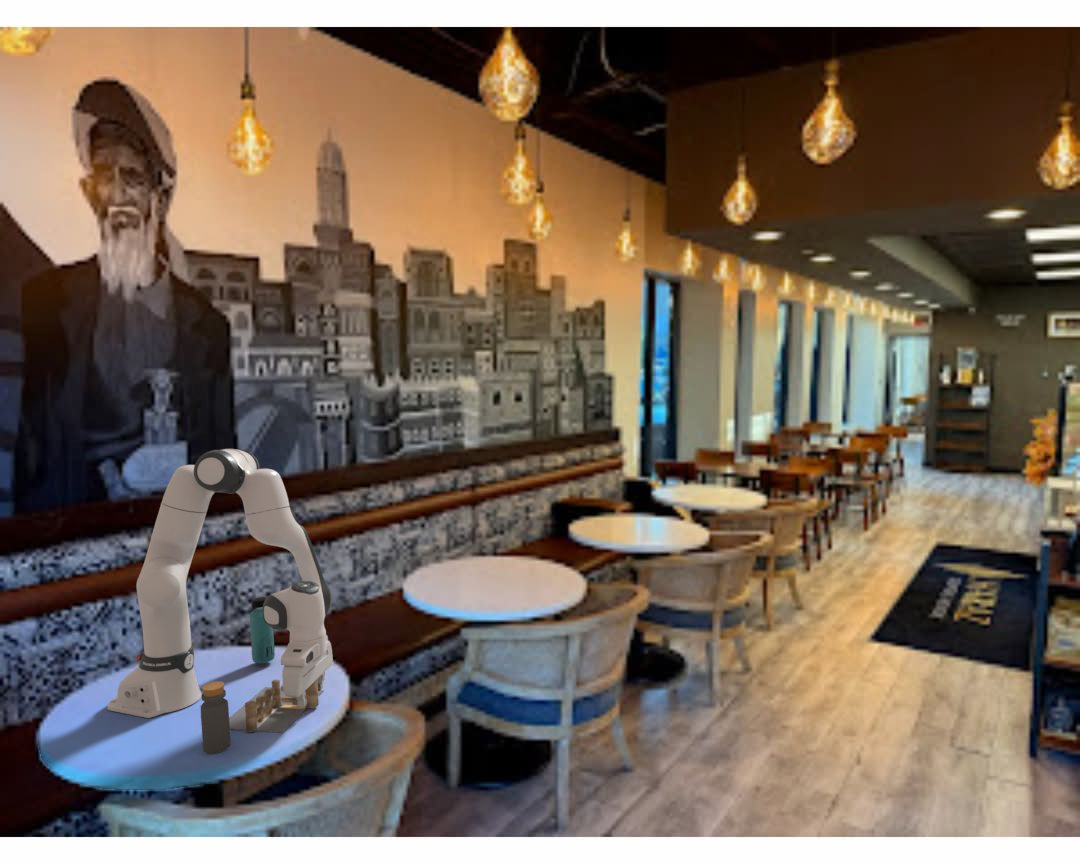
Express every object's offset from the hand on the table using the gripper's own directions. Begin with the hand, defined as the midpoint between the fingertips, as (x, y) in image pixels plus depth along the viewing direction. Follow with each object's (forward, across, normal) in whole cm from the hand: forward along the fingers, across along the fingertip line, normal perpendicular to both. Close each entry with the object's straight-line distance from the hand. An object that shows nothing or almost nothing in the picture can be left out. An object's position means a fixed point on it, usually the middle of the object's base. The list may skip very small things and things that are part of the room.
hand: (310, 697), depth 184 cm
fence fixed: (+3, +6, -10) cm, 12 cm away
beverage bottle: (+3, -25, -27) cm, 37 cm away
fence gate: (+2, 0, -3) cm, 4 cm away
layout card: (+3, +1, -10) cm, 11 cm away
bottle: (+3, +20, -14) cm, 24 cm away
